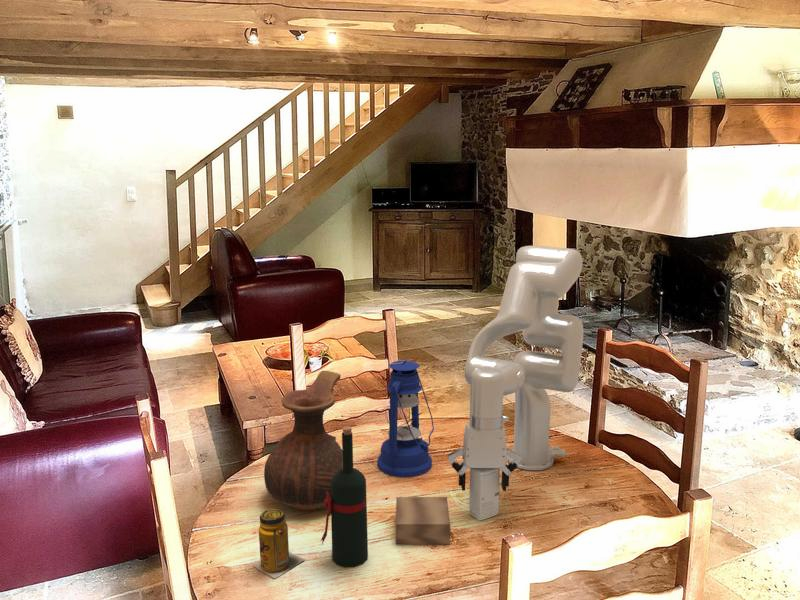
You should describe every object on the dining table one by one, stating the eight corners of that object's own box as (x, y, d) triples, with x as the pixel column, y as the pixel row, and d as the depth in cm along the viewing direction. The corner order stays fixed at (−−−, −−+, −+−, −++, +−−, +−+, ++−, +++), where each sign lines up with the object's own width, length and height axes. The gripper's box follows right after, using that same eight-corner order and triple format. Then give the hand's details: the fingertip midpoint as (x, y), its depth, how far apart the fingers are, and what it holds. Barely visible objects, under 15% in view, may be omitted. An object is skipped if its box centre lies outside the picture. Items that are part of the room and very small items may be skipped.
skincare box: (479, 521, 168) (481, 474, 166) (468, 513, 172) (468, 467, 169) (499, 514, 172) (501, 467, 169) (487, 506, 175) (488, 460, 173)
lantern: (393, 447, 208) (392, 348, 201) (441, 456, 202) (442, 355, 195) (365, 472, 193) (363, 367, 186) (417, 483, 187) (417, 374, 180)
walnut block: (446, 515, 171) (446, 496, 170) (449, 544, 159) (450, 524, 158) (396, 516, 171) (396, 497, 170) (396, 544, 159) (395, 524, 158)
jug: (364, 509, 174) (362, 393, 167) (277, 528, 166) (271, 407, 159) (337, 471, 194) (334, 365, 187) (257, 486, 186) (251, 377, 179)
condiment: (252, 566, 152) (249, 515, 149) (282, 548, 158) (280, 499, 155) (274, 579, 147) (271, 527, 145) (305, 561, 154) (303, 510, 151)
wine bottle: (318, 551, 157) (314, 424, 150) (363, 544, 160) (361, 418, 153) (324, 572, 150) (320, 439, 143) (372, 564, 152) (369, 433, 145)
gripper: (520, 414, 170) (517, 481, 173) (447, 414, 170) (446, 480, 173) (525, 427, 162) (522, 496, 166) (449, 426, 163) (447, 495, 166)
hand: (483, 488), depth 170 cm, fingers open, 9 cm apart
